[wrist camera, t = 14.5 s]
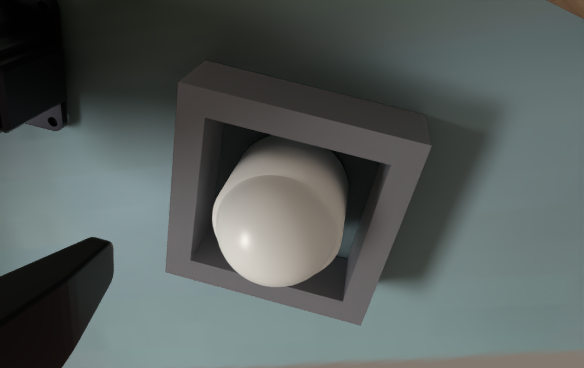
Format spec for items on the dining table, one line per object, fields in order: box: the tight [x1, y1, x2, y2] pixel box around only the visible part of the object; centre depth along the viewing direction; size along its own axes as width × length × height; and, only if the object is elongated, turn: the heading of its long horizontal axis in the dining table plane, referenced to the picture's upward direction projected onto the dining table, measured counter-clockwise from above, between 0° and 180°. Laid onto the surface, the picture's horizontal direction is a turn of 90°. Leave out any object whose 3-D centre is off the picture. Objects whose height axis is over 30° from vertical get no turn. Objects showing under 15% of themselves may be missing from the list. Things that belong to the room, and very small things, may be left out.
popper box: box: [166, 60, 432, 326], centre depth 21 cm, size 10×10×3 cm
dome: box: [212, 135, 348, 287], centre depth 20 cm, size 6×6×6 cm
